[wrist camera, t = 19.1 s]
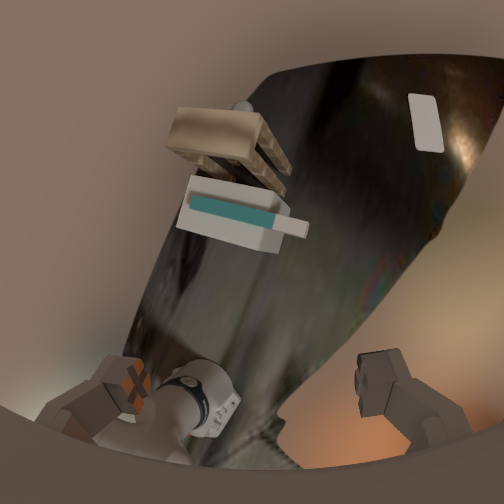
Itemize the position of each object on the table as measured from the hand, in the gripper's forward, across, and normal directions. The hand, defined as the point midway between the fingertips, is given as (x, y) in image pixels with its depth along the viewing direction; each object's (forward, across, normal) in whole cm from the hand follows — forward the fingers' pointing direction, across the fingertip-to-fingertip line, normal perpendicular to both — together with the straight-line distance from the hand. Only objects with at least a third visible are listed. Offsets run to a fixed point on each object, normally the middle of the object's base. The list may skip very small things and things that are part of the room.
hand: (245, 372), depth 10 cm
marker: (+40, -4, -5) cm, 40 cm away
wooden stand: (+59, -4, -2) cm, 59 cm away
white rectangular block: (+55, -6, -11) cm, 57 cm away
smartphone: (+58, +37, +10) cm, 69 cm away
